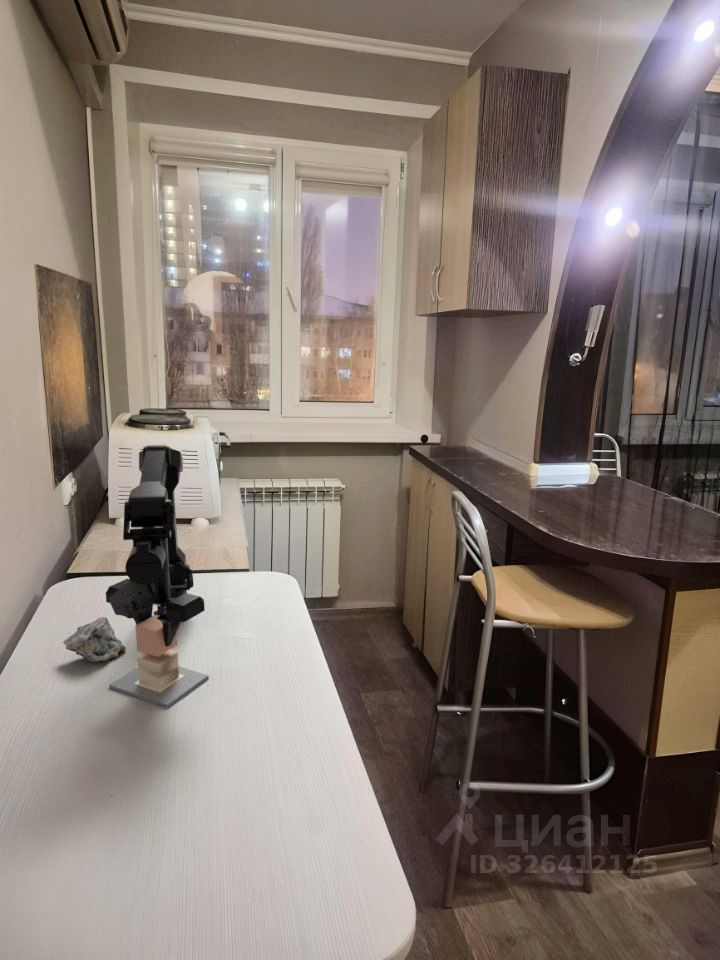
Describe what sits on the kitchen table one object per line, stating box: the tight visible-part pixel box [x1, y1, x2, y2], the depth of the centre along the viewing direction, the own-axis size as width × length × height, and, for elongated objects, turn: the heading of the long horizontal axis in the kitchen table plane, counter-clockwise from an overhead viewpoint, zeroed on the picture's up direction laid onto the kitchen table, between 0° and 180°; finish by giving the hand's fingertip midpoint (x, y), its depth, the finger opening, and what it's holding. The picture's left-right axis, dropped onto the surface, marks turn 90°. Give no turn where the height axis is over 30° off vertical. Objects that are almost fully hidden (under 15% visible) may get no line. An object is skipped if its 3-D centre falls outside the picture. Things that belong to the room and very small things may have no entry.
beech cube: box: [137, 649, 179, 689], centre depth 117 cm, size 5×5×5 cm
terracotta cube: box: [135, 614, 178, 657], centre depth 116 cm, size 5×5×5 cm
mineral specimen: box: [62, 616, 127, 663], centre depth 127 cm, size 10×8×10 cm
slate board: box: [108, 665, 209, 709], centre depth 118 cm, size 11×14×1 cm
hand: (157, 642), depth 116 cm, fingers closed on terracotta cube, 5 cm apart
